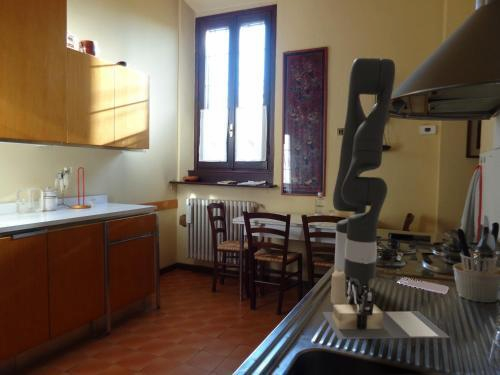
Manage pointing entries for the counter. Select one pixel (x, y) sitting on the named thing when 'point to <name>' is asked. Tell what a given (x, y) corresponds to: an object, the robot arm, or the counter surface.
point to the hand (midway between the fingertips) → (356, 322)
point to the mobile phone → (424, 285)
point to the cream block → (355, 317)
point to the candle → (338, 288)
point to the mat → (392, 327)
